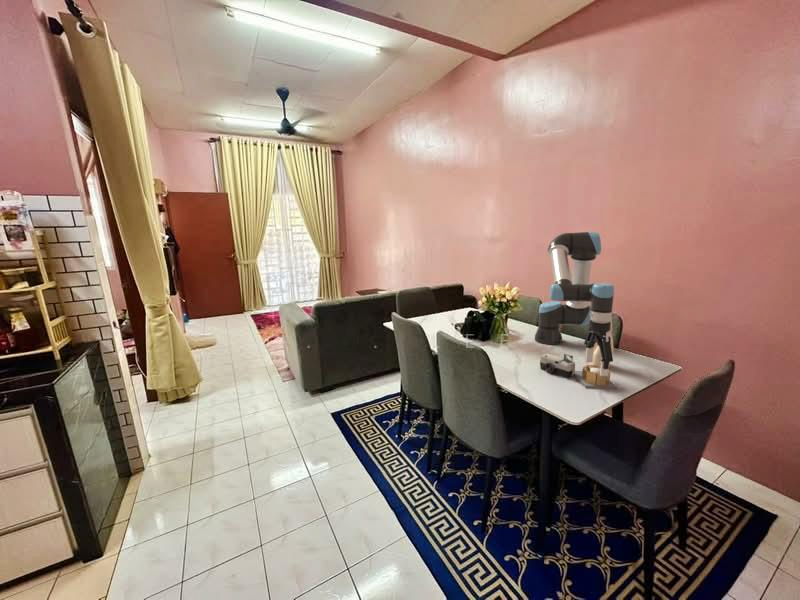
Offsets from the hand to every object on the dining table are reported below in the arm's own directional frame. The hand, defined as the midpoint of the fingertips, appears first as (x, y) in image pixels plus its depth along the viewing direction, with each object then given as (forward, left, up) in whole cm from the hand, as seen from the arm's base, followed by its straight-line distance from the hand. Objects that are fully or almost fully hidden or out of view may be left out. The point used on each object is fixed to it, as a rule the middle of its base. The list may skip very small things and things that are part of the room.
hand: (596, 368), depth 138 cm
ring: (0, 0, -5) cm, 5 cm away
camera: (-10, -13, -7) cm, 17 cm away
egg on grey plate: (-2, 0, -6) cm, 7 cm away
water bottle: (-19, +11, -7) cm, 23 cm away
